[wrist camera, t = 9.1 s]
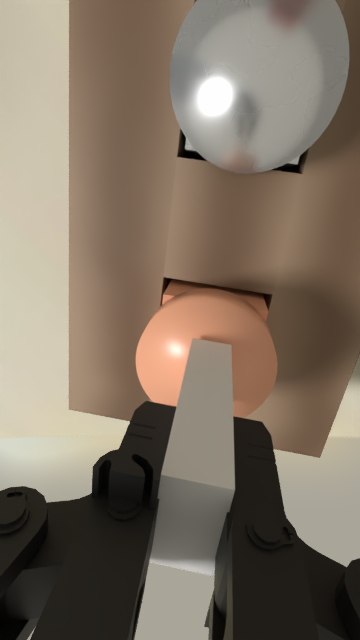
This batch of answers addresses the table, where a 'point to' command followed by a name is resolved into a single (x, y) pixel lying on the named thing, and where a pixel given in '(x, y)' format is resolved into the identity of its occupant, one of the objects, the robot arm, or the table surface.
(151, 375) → the terracotta button
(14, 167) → the table surface
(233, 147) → the grey button
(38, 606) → the robot arm
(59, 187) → the table surface
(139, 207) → the button console
